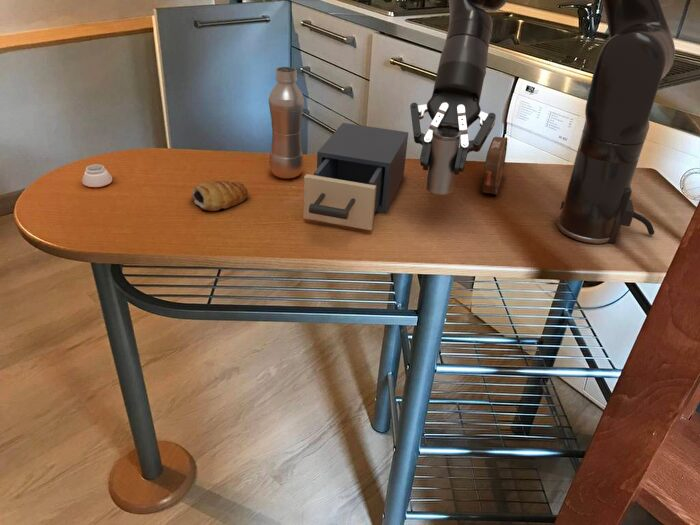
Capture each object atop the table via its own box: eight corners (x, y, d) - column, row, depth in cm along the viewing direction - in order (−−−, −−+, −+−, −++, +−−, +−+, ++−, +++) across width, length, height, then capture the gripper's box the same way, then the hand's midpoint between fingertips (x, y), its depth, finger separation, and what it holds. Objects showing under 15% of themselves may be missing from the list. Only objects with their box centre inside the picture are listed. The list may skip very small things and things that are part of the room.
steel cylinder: (454, 185, 101) (462, 129, 96) (451, 196, 97) (459, 139, 92) (428, 181, 102) (435, 126, 97) (424, 192, 98) (430, 135, 93)
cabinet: (385, 213, 107) (390, 163, 102) (315, 201, 110) (317, 151, 105) (403, 178, 120) (408, 132, 115) (340, 167, 123) (342, 122, 118)
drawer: (362, 248, 95) (365, 204, 91) (291, 234, 97) (291, 191, 93) (390, 193, 112) (394, 155, 108) (329, 183, 114) (330, 145, 110)
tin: (494, 202, 113) (502, 159, 109) (477, 198, 114) (484, 156, 110) (504, 171, 126) (512, 132, 121) (488, 169, 126) (496, 129, 122)
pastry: (236, 188, 112) (235, 168, 110) (256, 202, 108) (255, 182, 106) (188, 200, 107) (186, 180, 105) (207, 216, 103) (205, 195, 101)
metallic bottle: (306, 169, 121) (307, 66, 110) (300, 184, 115) (301, 76, 105) (273, 166, 121) (272, 63, 111) (266, 181, 116) (263, 73, 105)
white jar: (78, 181, 111) (88, 191, 108) (75, 165, 110) (85, 175, 107) (106, 175, 114) (116, 185, 111) (104, 160, 113) (114, 169, 109)
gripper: (416, 54, 97) (393, 154, 94) (508, 64, 94) (488, 167, 91) (418, 79, 104) (397, 173, 101) (504, 89, 101) (485, 186, 98)
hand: (440, 170), depth 96 cm, fingers closed on steel cylinder, 4 cm apart
